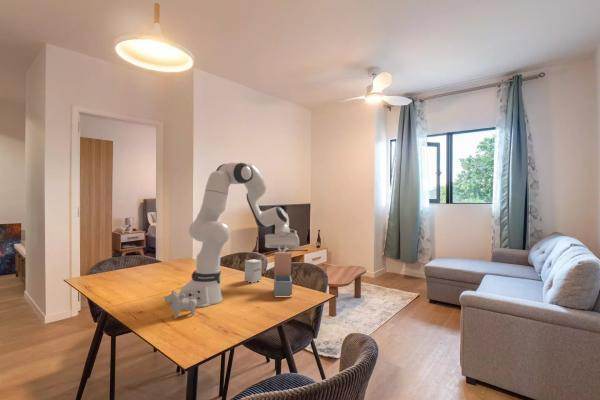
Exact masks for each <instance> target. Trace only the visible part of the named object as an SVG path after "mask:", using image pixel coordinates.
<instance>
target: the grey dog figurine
mask: <svg viewBox="0 0 600 400" xmlns="http://www.w3.org/2000/svg"><path fill="white" fill-rule="evenodd" d="M181 296H183V297H181ZM163 298H164V300H165V302H166V303H167V304H168V303H169V307H170V309H171V310H172V311H174V313H173V316H174V317H173V319H174V318H176V319H178V316H179V313H180V311H187V310H189V311H190V312H189V313H190V314H191V315H190V317H191V318H192V316H193V317H194V316H195V311H196V308H197V307H196V305H197V301H196V298H195V297H190V298H185V294H180V295H179V292H176V291H175V290H172V291H171V293H170V294H168V295H165V296H164V297H163Z"/></svg>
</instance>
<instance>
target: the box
mask: <svg viewBox="0 0 600 400" xmlns="http://www.w3.org/2000/svg"><path fill="white" fill-rule="evenodd" d="M291 275H292V274H291ZM291 275H274V274H273V277H274V278H273V297H274V296H290V295H292V296H293V279H292V276H291Z"/></svg>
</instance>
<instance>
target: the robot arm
mask: <svg viewBox="0 0 600 400" xmlns="http://www.w3.org/2000/svg"><path fill="white" fill-rule="evenodd" d="M240 184H243V185H244V186H245V188H246V191H247V193H246V194H245V195H246V200H247V203H248V206H249V208H250V211H251V213H252V215H253V217H254V220H255V224H256V226H258V227H259V228H261V229H266V228H268V227H270V226H273V225H274V227H275V229H274V233H266V234H265V235H264V242H265V243H264V247H265V248H267V249H270V248H271V249H277V250H278V252H286V251H287V249H298V248H299V247H300V237H299V236H298V234H297V233H298V232H297V230H294V229H291V228H290V227H289V226H290V218H289V215H288V213H287V212H286V210H285V209H284V208H282V207H281V206H275V207H272V208H269V209H266V210H261V209H260V206H259V204H258V202H257V201H259V199H260V198H262V197H263V195H265V193H266V191H267V186H268V185H267V182H266V180H265V178H264V177H263V175H262V173H261V172H260V171H259V169H258V168H257V166H255V165H253V164H252V163H245V162H229V163H223V164H221V165H219V166H218V167H217V168H216V169H215V170H214V171H212V172H211V173H210V174H209V177H208V179H207V182H206V185H205V190H204V195H203V199H202V203H201V207H200V210H199V212H198V214H197V216H196V218H195V220H194V221H193V222H192V223H190V225H189V228H188V233H189V236H190V237H191V238H192V239H193V240H195V241H197V242H201V243H202V245H201V249H200V251H199V252H198V253H197V255H196V265H195V266H196V268H195V270H193V271H192V273H191V280H189V281H187V283H185V284H184V285H183V286H182V287H181V289H180V290H179V292H178V295H180V294H185V298H190V297H195V298H196V301H197V305H196V307H195V308H207V307H209V306H211V305H215V304H218V303H221V302H222V301H223V300H224V298H223V296H222V295H223V294H222V290H221V281H222V280H221V279H222V274H221V272H222V271H221V255H222V252H223V247H224V245H225V244H226V243H227V242H228V240H229V239H230V238H231V237H230V236H231V230H230V227H229V226H228V225H227V224H225V223H224V222H221V221H218V220H219V218H220V216H221V215H222V214H223V213H224V211H225V210H226V205H227V201H228V195H229V187H230V186H231V185H240ZM181 297H183V296H181Z"/></svg>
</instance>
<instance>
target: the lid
mask: <svg viewBox="0 0 600 400" xmlns="http://www.w3.org/2000/svg"><path fill="white" fill-rule="evenodd" d="M292 255H293V254H292V252H289V251H287V252H286V251H285V252H280V251H277V252H274V266H273V267H274V268H273V276H274V275H292V273H291V272H292Z"/></svg>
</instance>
